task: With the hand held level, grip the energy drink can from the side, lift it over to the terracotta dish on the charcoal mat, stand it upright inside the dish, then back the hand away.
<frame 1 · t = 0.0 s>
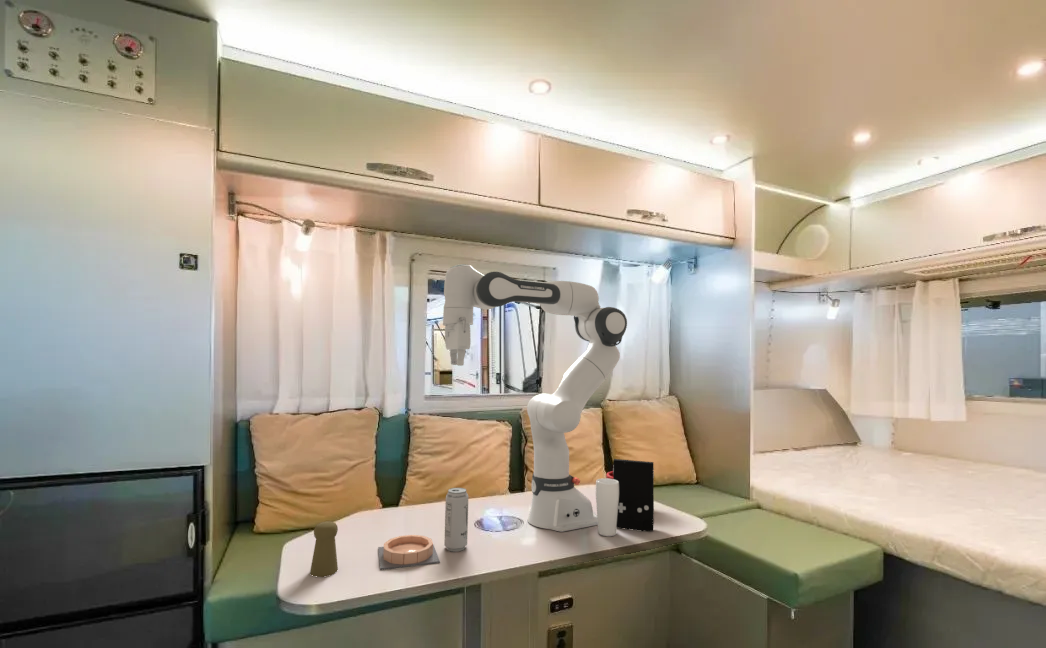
hand: (456, 365, 142), 48 cm above the table, tool pointing down, fingers open, 8 cm apart
handheld gaming console: (633, 528, 144), on the table
plant pot: (625, 510, 161), on the table
drinking glass: (607, 534, 139), on the table
cork: (324, 572, 112), on the table
dish: (408, 555, 121), on the table
energy drink can: (455, 548, 127), on the table
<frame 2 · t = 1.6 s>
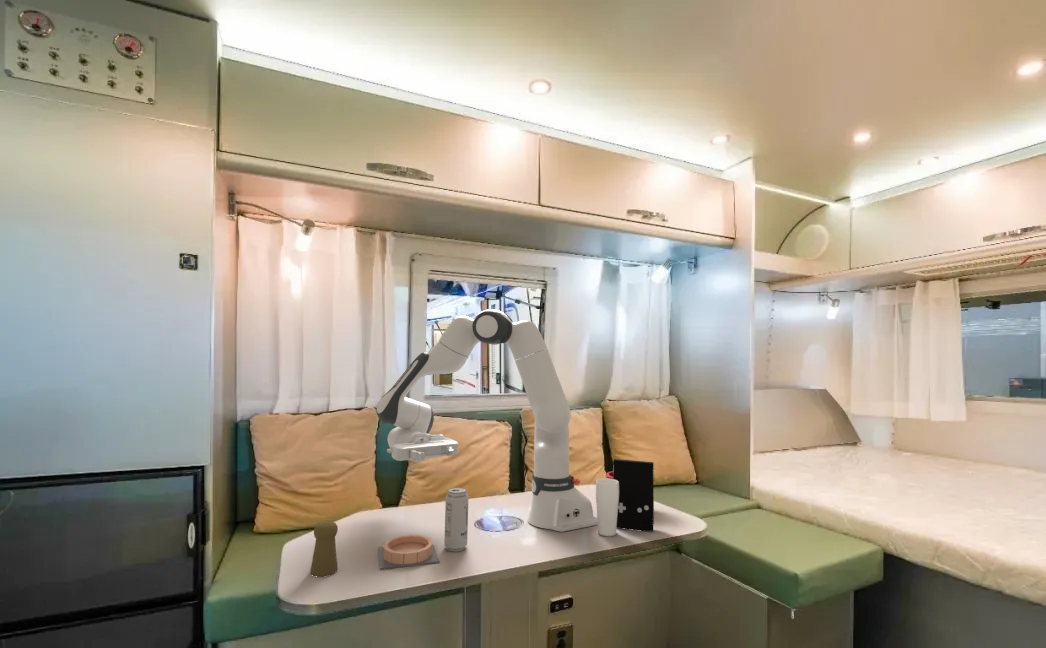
hand: (437, 454, 138), 22 cm above the table, tool horizontal, fingers open, 8 cm apart
nothing on the table moved.
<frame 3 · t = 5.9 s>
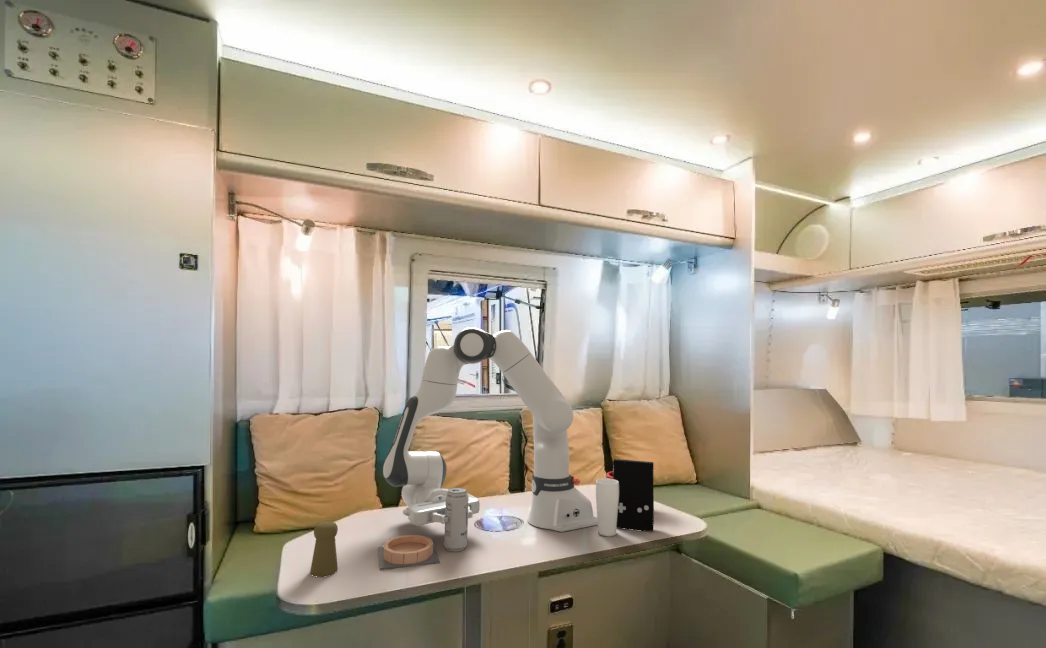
hand: (458, 517, 127), 8 cm above the table, tool horizontal, fingers closed on energy drink can, 6 cm apart
energy drink can: (455, 548, 127), on the table, touching gripper
everything else where it was.
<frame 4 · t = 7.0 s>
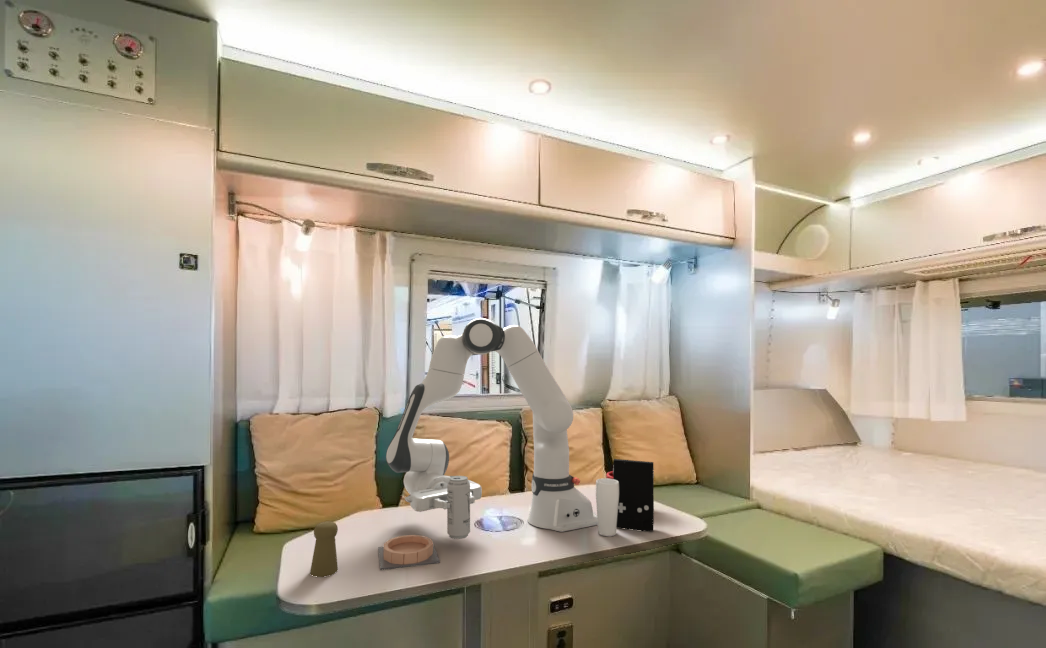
hand: (460, 503, 127), 12 cm above the table, tool horizontal, fingers closed on energy drink can, 6 cm apart
energy drink can: (458, 536, 127), point 3 cm above the table, touching gripper
everything else where it was.
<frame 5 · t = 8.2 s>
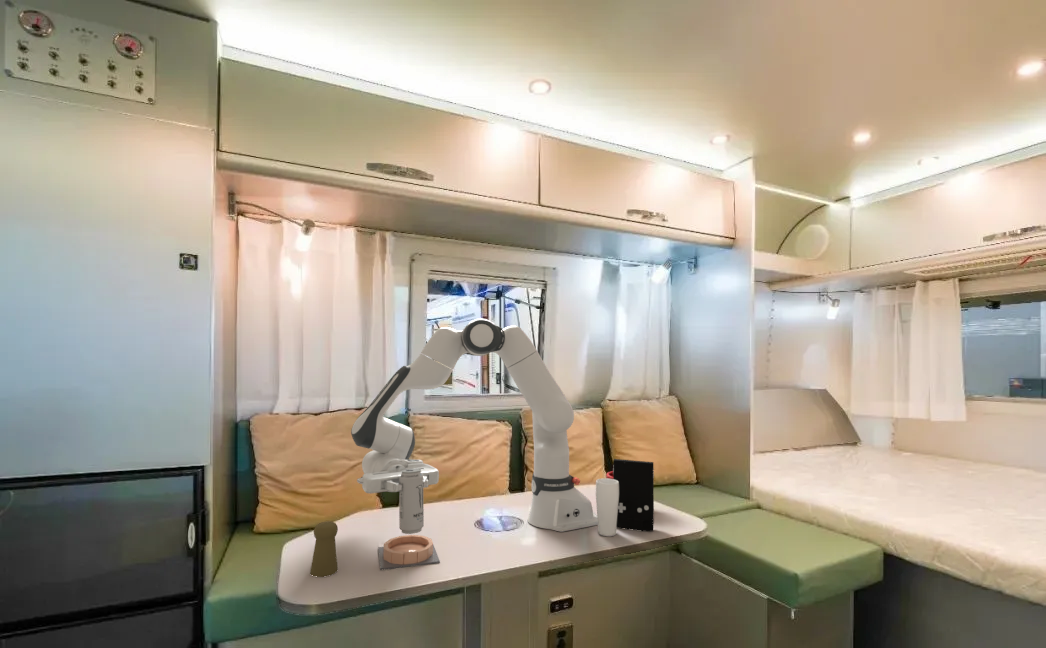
hand: (412, 486, 122), 17 cm above the table, tool horizontal, fingers closed on energy drink can, 6 cm apart
energy drink can: (411, 531, 122), point 6 cm above the table, touching gripper
everything else where it was.
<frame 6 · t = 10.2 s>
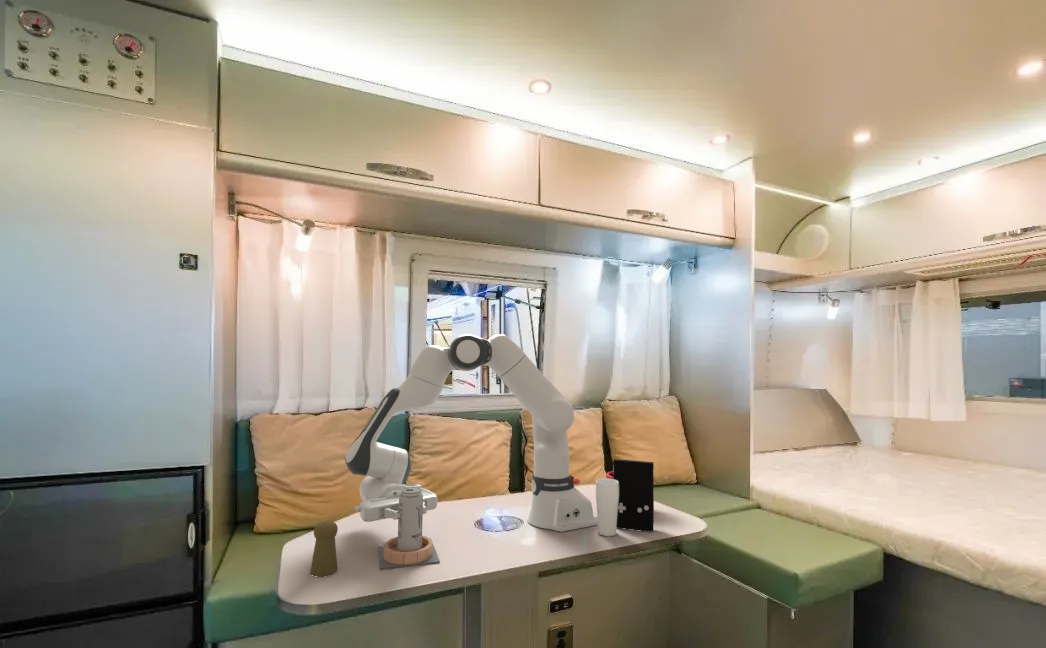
hand: (411, 513, 121), 11 cm above the table, tool horizontal, fingers closed on energy drink can, 6 cm apart
energy drink can: (409, 551, 121), point 1 cm above the table, touching dish, gripper
everything else where it was.
when the fingers open (11 cm above the table, at t = 10.3 s): energy drink can stays where it is, resting on dish.
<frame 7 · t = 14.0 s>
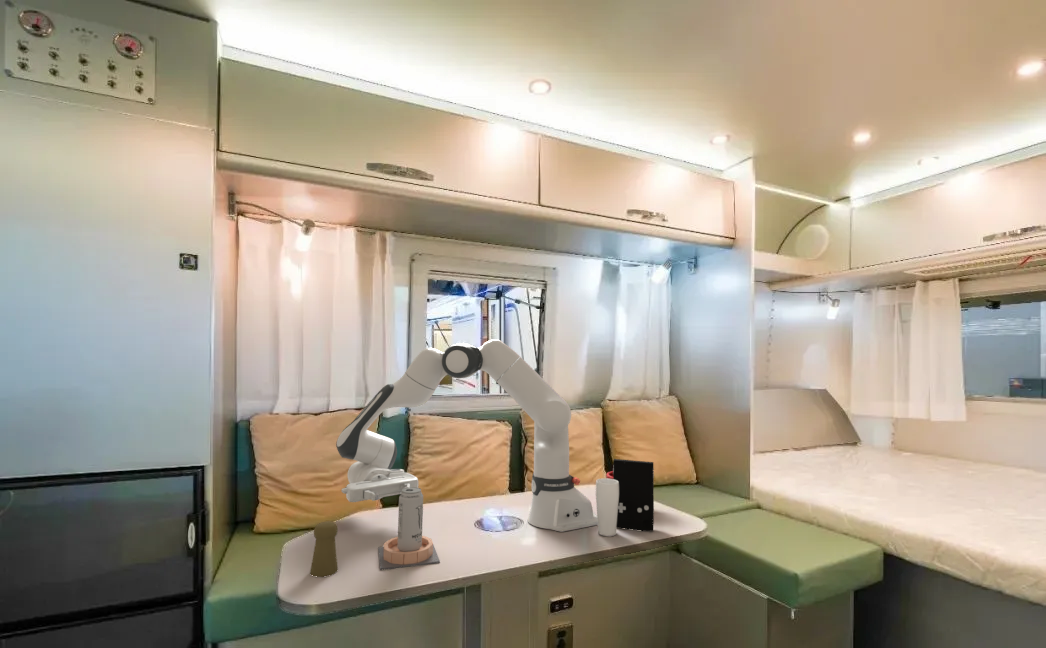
hand: (392, 494, 132), 12 cm above the table, tool horizontal, fingers open, 8 cm apart
energy drink can: (409, 551, 121), point 1 cm above the table, touching dish
everything else where it was.
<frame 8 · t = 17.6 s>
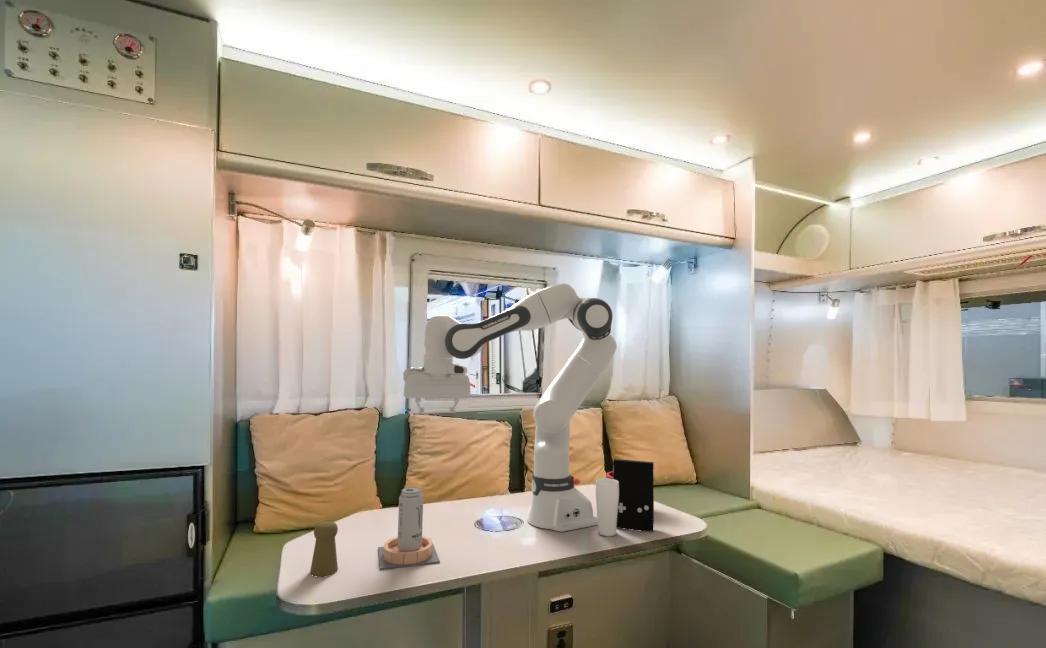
hand: (436, 413, 147), 33 cm above the table, tool pointing down, fingers open, 8 cm apart
nothing on the table moved.
at the end: energy drink can 0.5 cm off-centre on the dish, point 1.2 cm above the dish's base; energy drink can tilted 0°; the gripper is holding nothing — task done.
